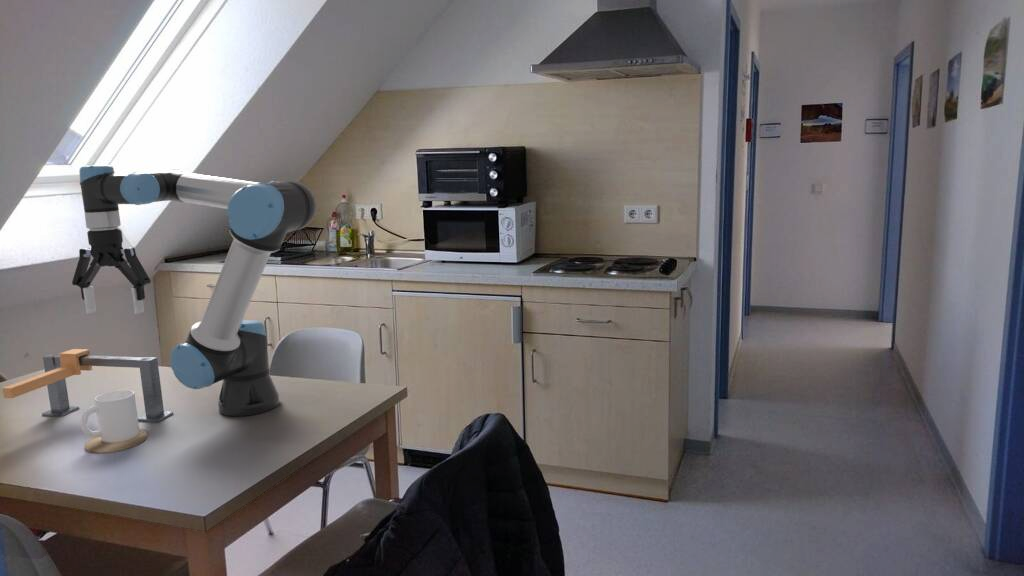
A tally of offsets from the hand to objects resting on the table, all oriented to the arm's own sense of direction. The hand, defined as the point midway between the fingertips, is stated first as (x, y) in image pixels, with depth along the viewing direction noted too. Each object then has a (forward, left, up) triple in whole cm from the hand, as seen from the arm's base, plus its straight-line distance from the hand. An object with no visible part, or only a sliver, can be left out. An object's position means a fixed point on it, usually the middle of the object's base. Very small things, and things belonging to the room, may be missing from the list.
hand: (115, 312), depth 191 cm
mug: (-9, +17, -27) cm, 33 cm away
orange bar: (+14, +10, -16) cm, 23 cm away
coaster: (-10, +17, -27) cm, 33 cm away
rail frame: (+6, +1, -27) cm, 28 cm away
